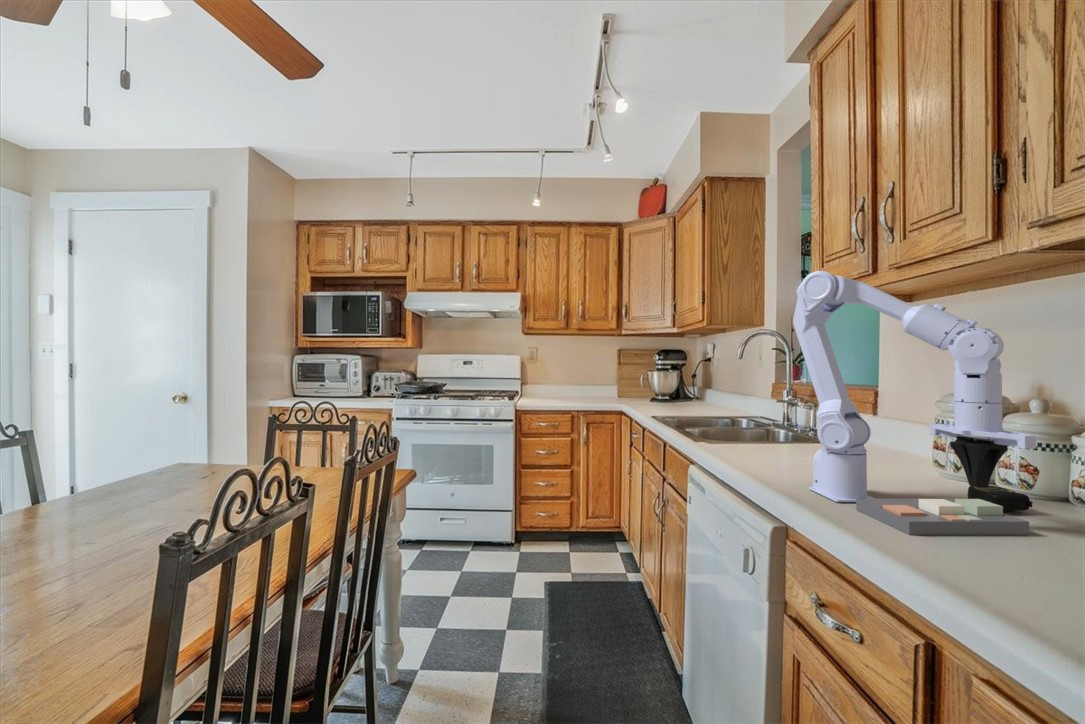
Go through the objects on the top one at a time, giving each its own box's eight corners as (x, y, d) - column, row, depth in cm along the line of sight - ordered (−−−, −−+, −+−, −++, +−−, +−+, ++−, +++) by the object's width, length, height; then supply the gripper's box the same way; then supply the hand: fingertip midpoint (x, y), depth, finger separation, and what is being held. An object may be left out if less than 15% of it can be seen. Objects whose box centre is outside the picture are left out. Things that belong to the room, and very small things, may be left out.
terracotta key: (882, 518, 77) (882, 505, 77) (906, 518, 77) (906, 505, 77) (900, 526, 73) (900, 512, 73) (926, 526, 73) (926, 512, 73)
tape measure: (993, 516, 79) (993, 494, 79) (957, 504, 86) (957, 483, 86) (1033, 515, 79) (1032, 494, 79) (993, 503, 86) (993, 483, 86)
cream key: (918, 512, 77) (918, 498, 77) (942, 512, 77) (942, 498, 77) (939, 520, 73) (938, 506, 73) (964, 520, 73) (964, 506, 73)
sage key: (955, 512, 77) (954, 498, 77) (979, 512, 77) (979, 498, 77) (977, 520, 73) (977, 506, 73) (1002, 520, 73) (1002, 506, 73)
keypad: (856, 509, 82) (856, 497, 82) (958, 509, 82) (958, 497, 82) (909, 534, 70) (909, 520, 70) (1029, 534, 70) (1029, 520, 70)
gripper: (913, 399, 82) (914, 476, 82) (1007, 406, 67) (1008, 499, 67) (948, 398, 83) (949, 474, 83) (1047, 405, 68) (1049, 497, 68)
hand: (978, 486), depth 75 cm, fingers closed
